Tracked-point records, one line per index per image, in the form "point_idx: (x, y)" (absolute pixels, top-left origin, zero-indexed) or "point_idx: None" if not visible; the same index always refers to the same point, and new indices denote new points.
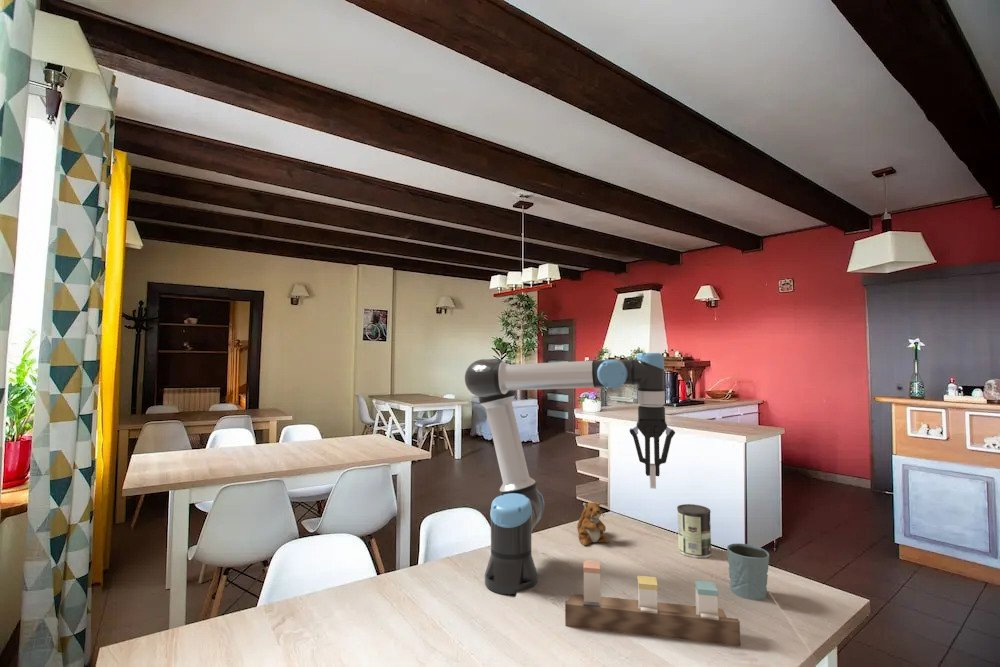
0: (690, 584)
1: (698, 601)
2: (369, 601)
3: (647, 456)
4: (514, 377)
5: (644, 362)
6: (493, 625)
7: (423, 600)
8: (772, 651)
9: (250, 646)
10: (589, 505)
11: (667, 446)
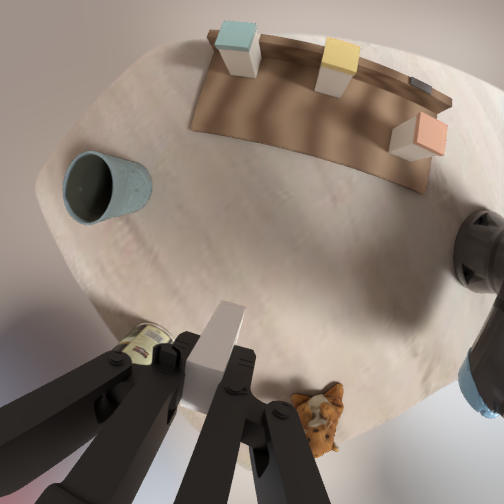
0: (202, 226)
1: (256, 37)
2: None
3: (228, 425)
4: None
5: None
6: (498, 140)
7: None
8: (180, 51)
9: None
10: (330, 444)
11: (25, 412)
